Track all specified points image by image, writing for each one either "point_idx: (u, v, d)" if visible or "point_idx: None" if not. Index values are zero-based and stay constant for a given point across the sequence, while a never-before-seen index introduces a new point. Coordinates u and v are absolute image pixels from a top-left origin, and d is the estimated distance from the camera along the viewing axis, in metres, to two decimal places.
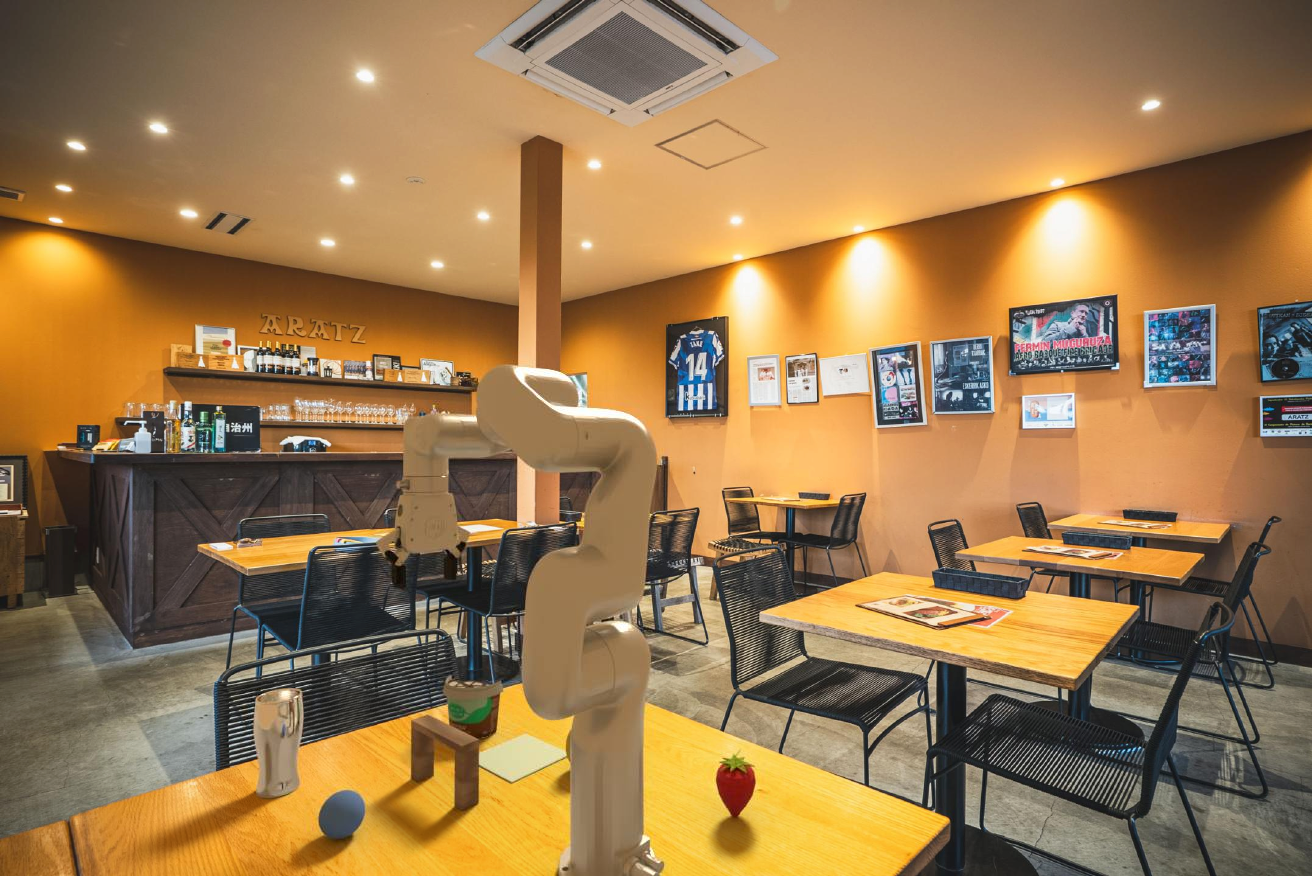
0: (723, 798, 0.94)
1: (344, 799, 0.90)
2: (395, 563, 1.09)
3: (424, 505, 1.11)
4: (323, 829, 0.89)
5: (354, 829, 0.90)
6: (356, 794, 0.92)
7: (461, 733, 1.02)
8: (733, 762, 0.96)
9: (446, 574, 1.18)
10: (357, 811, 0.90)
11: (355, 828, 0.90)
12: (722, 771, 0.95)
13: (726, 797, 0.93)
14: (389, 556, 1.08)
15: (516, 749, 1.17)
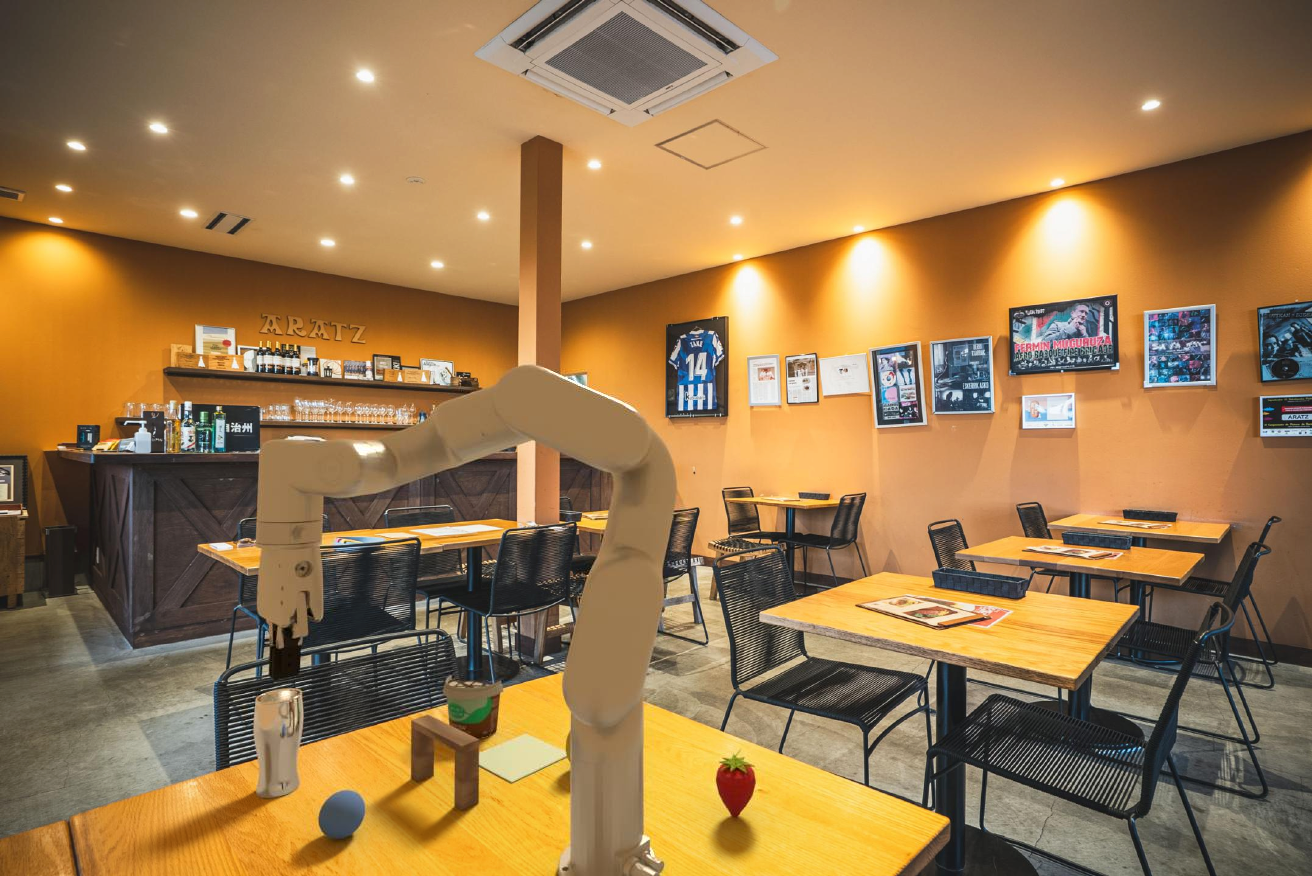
0: (723, 798, 0.94)
1: (344, 799, 0.90)
2: (299, 642, 0.83)
3: None
4: (323, 829, 0.89)
5: (354, 829, 0.90)
6: (356, 794, 0.92)
7: (461, 733, 1.02)
8: (733, 762, 0.96)
9: None
10: (357, 811, 0.90)
11: (355, 828, 0.90)
12: (722, 771, 0.95)
13: (726, 797, 0.93)
14: None
15: (516, 749, 1.17)
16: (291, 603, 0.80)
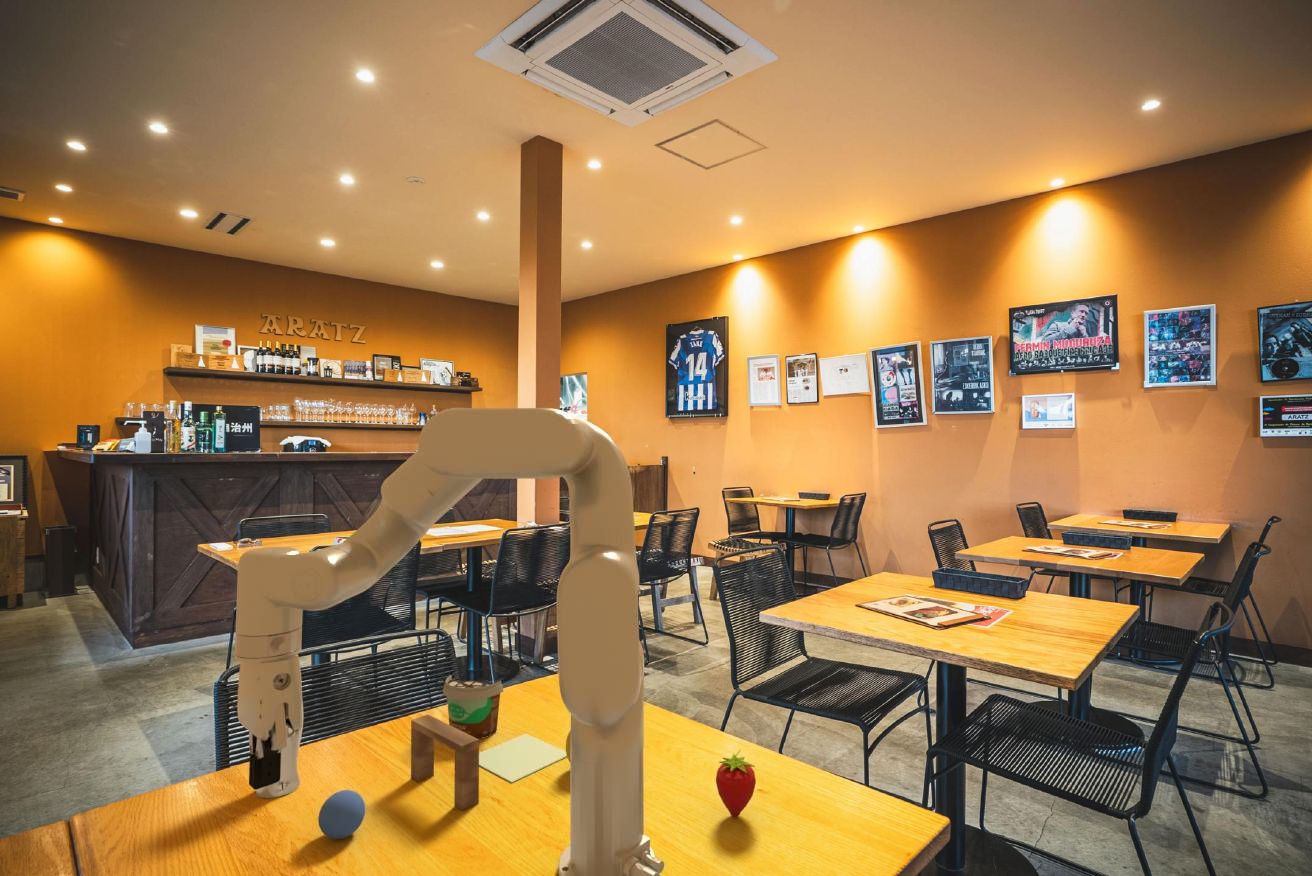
0: (723, 798, 0.94)
1: (344, 799, 0.90)
2: (279, 751, 0.84)
3: None
4: (323, 829, 0.89)
5: (354, 829, 0.90)
6: (356, 794, 0.92)
7: (461, 733, 1.02)
8: (733, 762, 0.96)
9: None
10: (357, 811, 0.90)
11: (355, 828, 0.90)
12: (722, 771, 0.95)
13: (726, 797, 0.93)
14: None
15: (516, 749, 1.17)
16: (269, 717, 0.81)
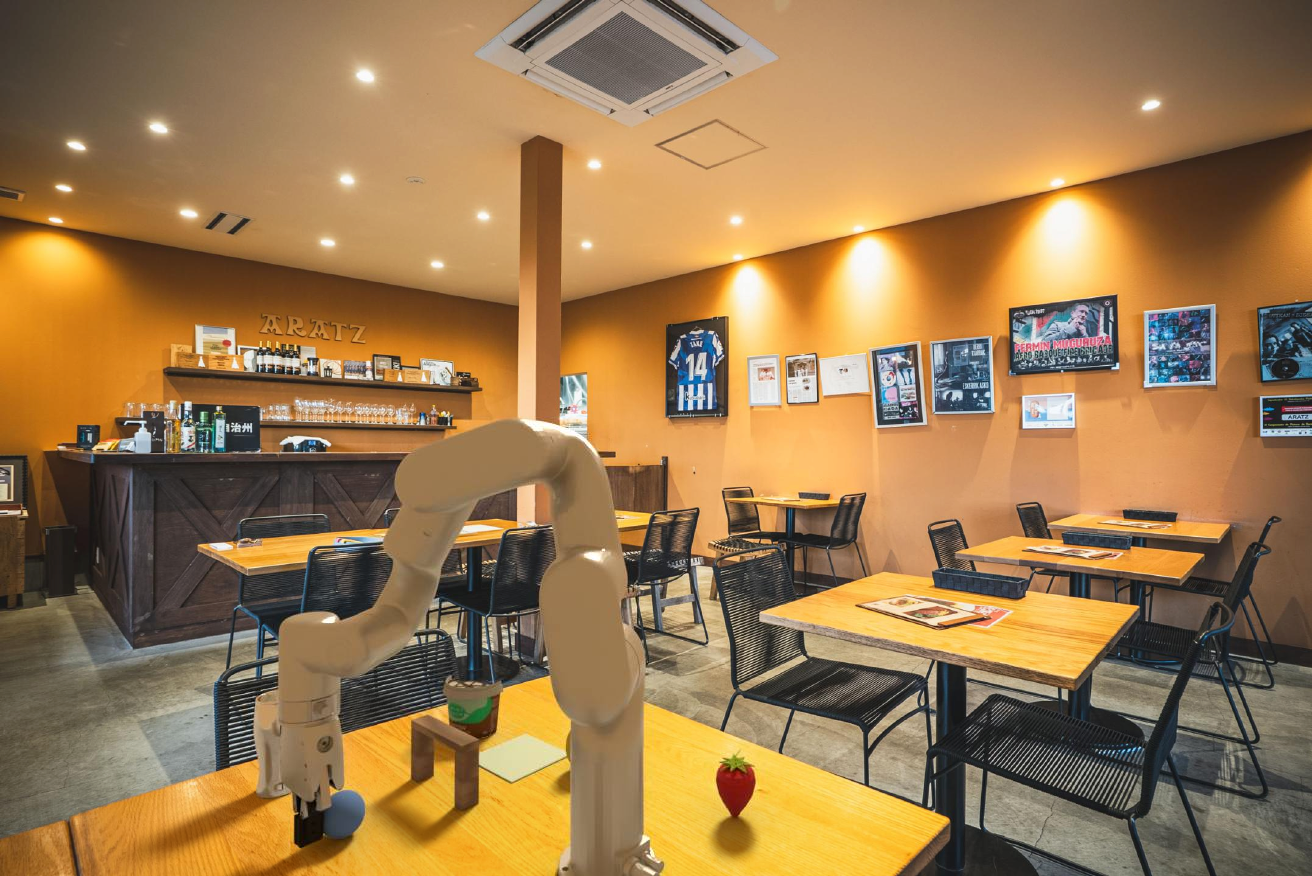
0: (723, 798, 0.94)
1: (344, 799, 0.90)
2: (322, 809, 0.88)
3: None
4: (323, 829, 0.89)
5: (354, 829, 0.90)
6: (356, 794, 0.92)
7: (461, 733, 1.02)
8: (733, 762, 0.96)
9: None
10: (357, 811, 0.90)
11: (355, 828, 0.90)
12: (722, 771, 0.95)
13: (726, 797, 0.93)
14: None
15: (516, 749, 1.17)
16: (315, 779, 0.84)
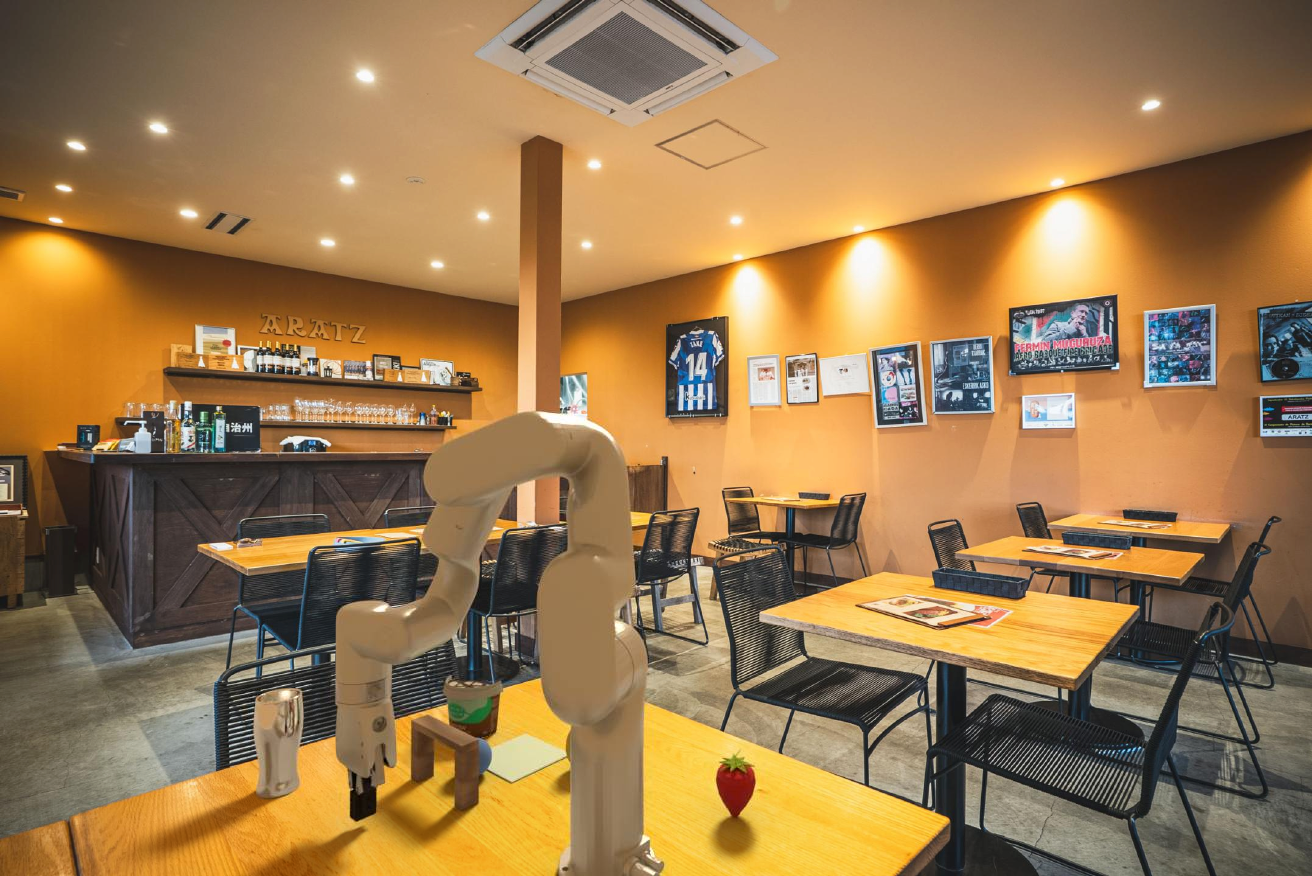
0: (723, 798, 0.94)
1: (484, 742, 1.09)
2: None
3: None
4: None
5: (480, 771, 1.06)
6: None
7: (461, 733, 1.02)
8: (733, 762, 0.96)
9: None
10: (489, 756, 1.08)
11: (481, 770, 1.06)
12: (722, 771, 0.95)
13: (726, 797, 0.93)
14: None
15: (516, 749, 1.17)
16: (370, 757, 0.90)
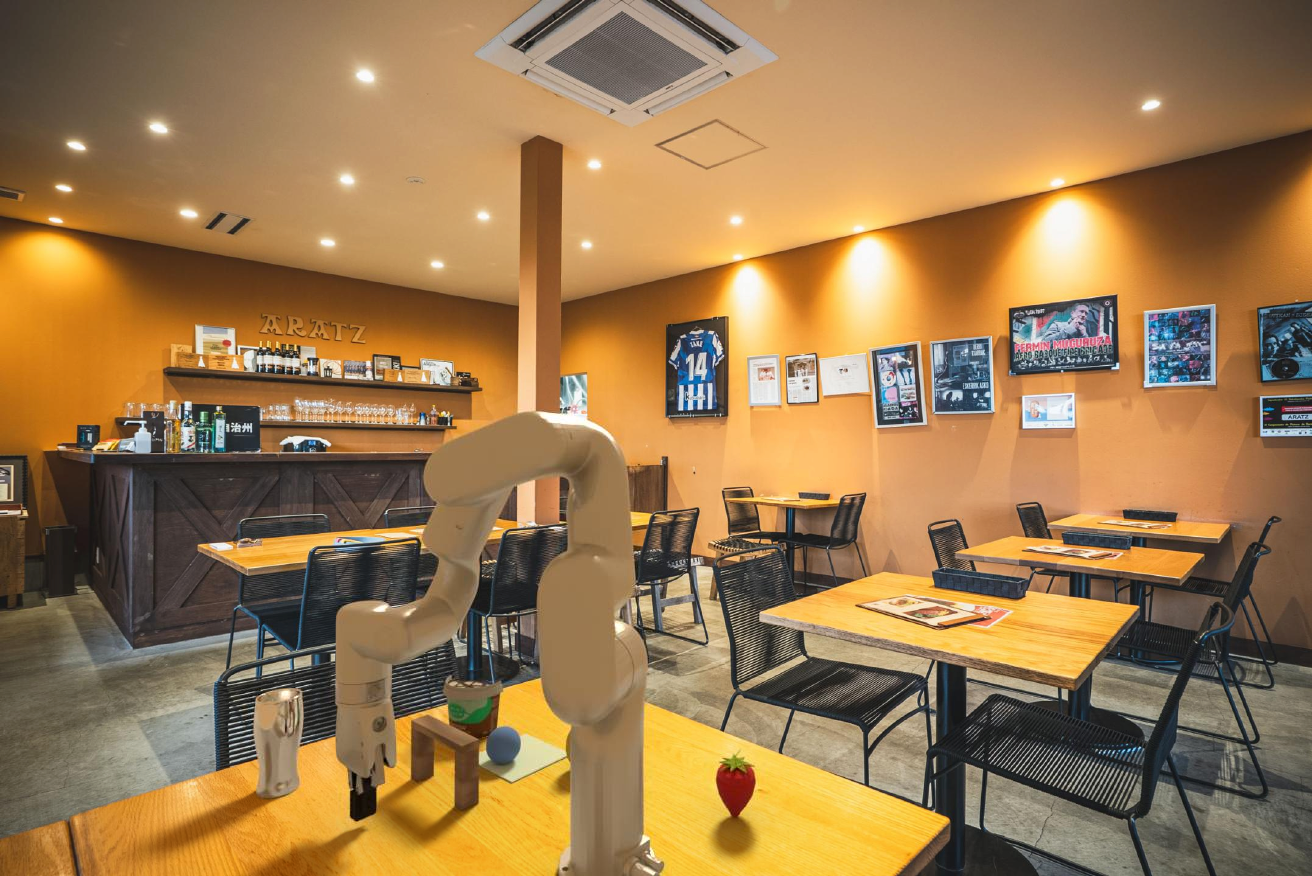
0: (723, 798, 0.94)
1: None
2: None
3: None
4: None
5: (508, 744, 1.11)
6: None
7: (461, 733, 1.02)
8: (733, 762, 0.96)
9: None
10: (512, 757, 1.11)
11: (507, 745, 1.11)
12: (722, 771, 0.95)
13: (726, 797, 0.93)
14: None
15: None
16: (370, 757, 0.90)
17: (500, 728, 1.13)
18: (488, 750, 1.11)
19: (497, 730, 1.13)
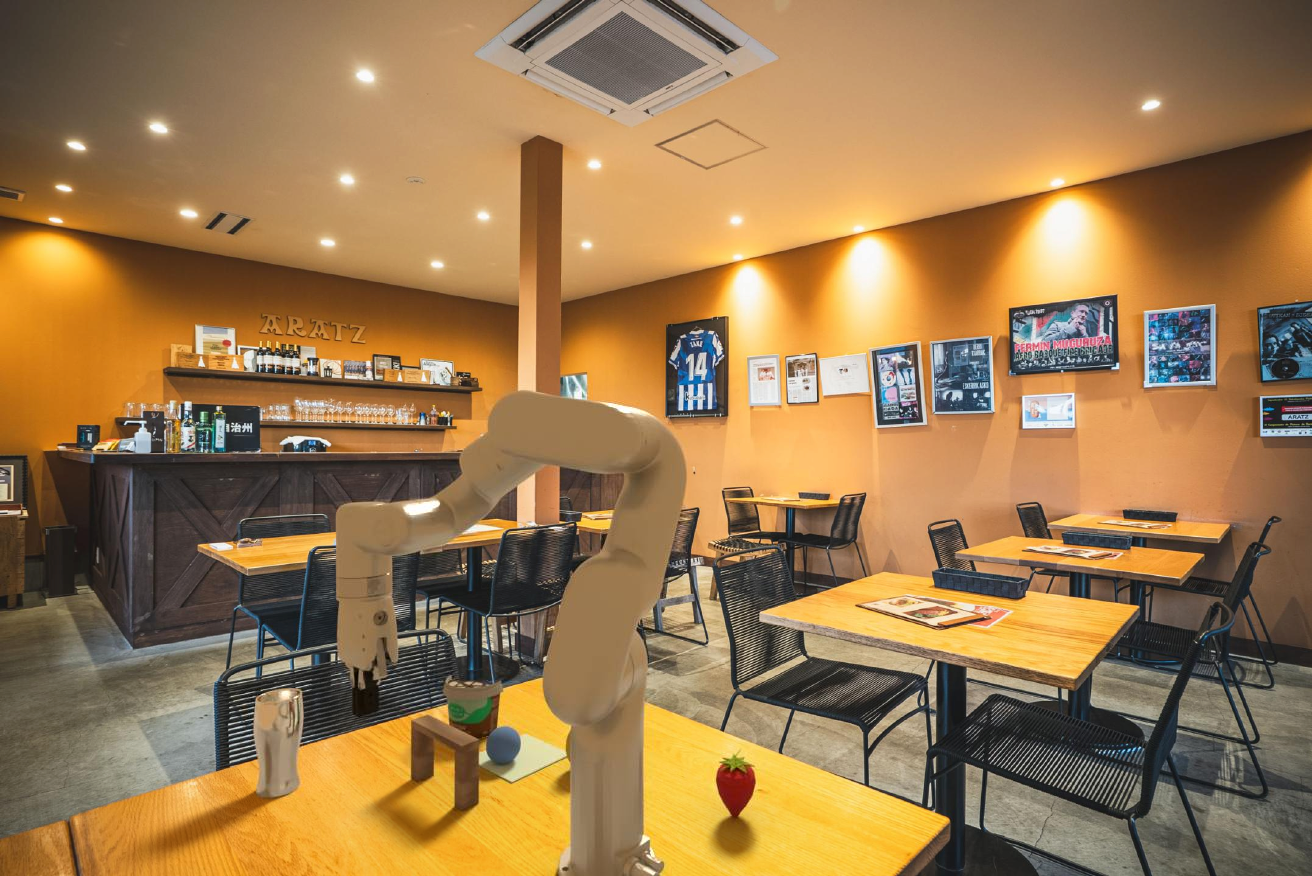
0: (723, 798, 0.94)
1: None
2: (377, 683, 0.94)
3: None
4: None
5: (508, 744, 1.11)
6: None
7: (461, 733, 1.02)
8: (733, 762, 0.96)
9: None
10: (512, 757, 1.11)
11: (507, 745, 1.11)
12: (722, 771, 0.95)
13: (726, 797, 0.93)
14: None
15: None
16: (372, 649, 0.90)
17: (500, 728, 1.13)
18: (488, 750, 1.11)
19: (497, 730, 1.13)
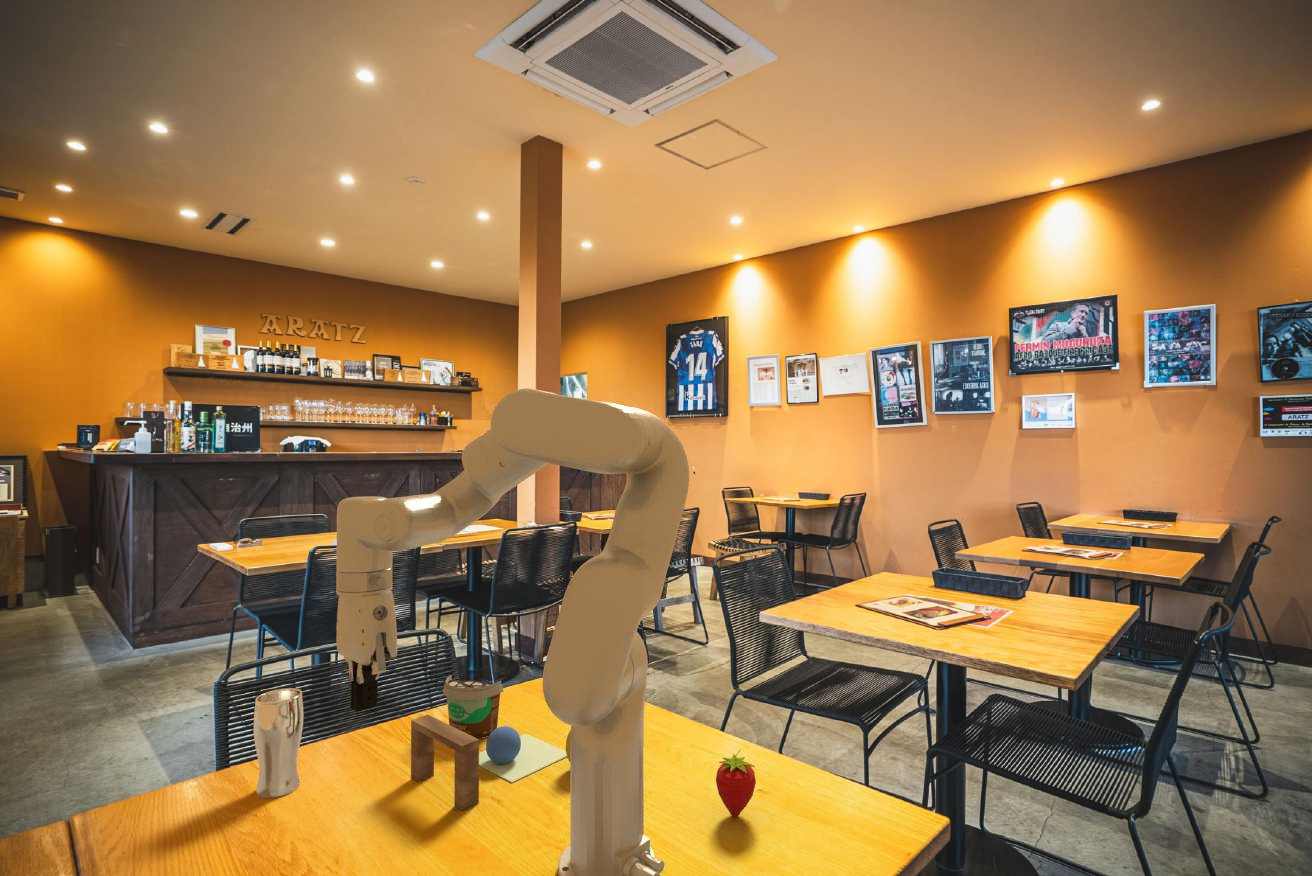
0: (723, 798, 0.94)
1: None
2: (376, 677, 0.94)
3: None
4: None
5: (508, 744, 1.11)
6: None
7: (461, 733, 1.02)
8: (733, 762, 0.96)
9: None
10: (512, 757, 1.11)
11: (507, 745, 1.11)
12: (722, 771, 0.95)
13: (726, 797, 0.93)
14: None
15: None
16: (371, 644, 0.90)
17: (500, 728, 1.13)
18: (488, 750, 1.11)
19: (497, 730, 1.13)
